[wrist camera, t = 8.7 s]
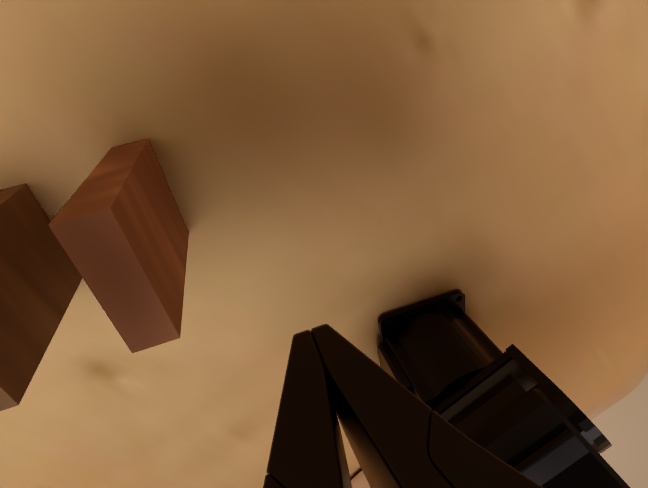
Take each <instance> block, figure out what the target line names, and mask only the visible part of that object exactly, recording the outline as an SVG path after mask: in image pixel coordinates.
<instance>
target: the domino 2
mask: <svg viewBox="0 0 648 488" xmlns="http://www.w3.org/2000/svg"><path fill="white" fill-rule="evenodd" d="M48 226H49V227H50V229H51V230H52V232H53V233H54V235H55V236H56V238H57V239H58V241H59V242H60V244H61V245H62V247H63V248H64V250H65V251H66V253H67V255H68V256H69V258H70V259H71V261H72V262H73V264H74V265H75V267H76V268H77V270H78V271H79V273H80V274H81V276H82V277H83V279H84V280H85V282H86V283H87V285H88V287H89V288H90V290H91V291H92V293H93V294H94V296H95V297H96V299H97V300H98V302H99V303H100V305H101V306H102V308H103V309H104V311H105V312H106V314H107V316H108V317H109V319H110V320H111V322H112V323H113V325H114V326H115V328H116V329H117V331H118V332H119V334H120V335H121V337H122V338H123V340H124V341H125V343H126V345H127V346H128V348H129V349H130V351H131V352H132V353H134V352H138V351H141V350H144V349H147V348H150V347H153V346H156V345H159V344H162V343H166V342H169V341H172V340H175V339H178V338H180V332H181V320H182V308H183V296H184V284H185V272H186V260H187V248H188V236H189V232H188V230H187V228H186V225H185V223H184V221H183V218H182V216H181V214H180V211H179V209H178V207H177V204H176V202H175V200H174V197H173V195H172V193H171V190H170V188H169V186H168V183H167V181H166V179H165V177H164V174H163V172H162V170H161V167H160V165H159V163H158V160H157V158H156V156H155V153H154V151H153V149H152V146H151V144H150V142H149V139H144V140H140V141H136V142H132V143H128V144H124V145H120V146H116V147H112V148H111V149H110V150H109V151H108V153H107V154H106V155H105V156H104V158H103V159H102V160H101V161H100V162H99V164H98V165H97V166H96V167H95V169H94V170H93V171H92V172H91V173H90V175H89V176H88V177H87V178H86V179H85V181H84V182H83V183H82V184H81V186H80V187H79V188H78V189H77V190H76V192H75V193H74V194H73V195H72V197H71V198H70V199H69V200H68V201H67V203H66V204H65V205H64V206H63V208H62V209H61V210H60V211H59V212H58V214H57V215H56V216H55V217H54V219H53V220H52V221H51V222H50V223H49V225H48Z"/></svg>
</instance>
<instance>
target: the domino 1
mask: <svg viewBox="0 0 648 488" xmlns="http://www.w3.org/2000/svg"><path fill="white" fill-rule="evenodd" d="M50 222H51V221H50V220H49V218H48V217H47V215H46V214H45V212H44V211H43V209H42V207H41V206H40V204H39V203H38V201H37V200H36V198H35V197H34V195H33V194H32V192H31V191H30V189H29V187H28V186H27V184H22V185H18V186H14V187H10V188H6V189H3V190H0V411H2V410H5V409H8V408H11V407H14V406H17V405H19V403H20V401H21V399H22V397H23V395H24V393H25V391H26V389H27V387H28V385H29V383H30V381H31V379H32V377H33V375H34V373H35V371H36V369H37V367H38V365H39V363H40V361H41V359H42V357H43V355H44V353H45V351H46V349H47V347H48V345H49V343H50V341H51V339H52V337H53V336H54V334H55V332H56V330H57V328H58V326H59V324H60V322H61V320H62V318H63V316H64V314H65V312H66V310H67V308H68V306H69V304H70V302H71V300H72V298H73V296H74V294H75V292H76V290H77V288H78V286H79V284H80V282H81V280H82V278H83V277H82V276H81V274H80V273H79V271H78V270H77V268H76V267H75V265H74V264H73V262H72V261H71V259H70V258H69V256H68V255H67V253H66V251H65V250H64V248H63V247H62V245H61V244H60V242H59V241H58V239H57V238H56V236H55V235H54V233H53V232H52V230H51V229H50V227H49V226H48V225H49V223H50Z"/></svg>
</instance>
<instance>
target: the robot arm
mask: <svg viewBox="0 0 648 488" xmlns="http://www.w3.org/2000/svg"><path fill="white" fill-rule="evenodd" d="M386 321H387V322H386ZM378 324H379V331H380V338H381V342H380V343H379V344H378V352H379V359H380V366H381V367H380V366H378V365H377V364H376V363H375V362H374V361H372V360H371V359H370V358H369V357H367V356H366V355H365V354H364V353H362V352H361V351H360V350H359V349H358V348H356V347H355V346H354V345H353V344H351V343H350V342H349V341H348V340H346V339H345V338H344V337H343V336H342V335H340V334H339V333H338V332H337V331H335V330H334V329H333V328H332V327H330V326H329V325H328V324H323V325H320V326H317V327H314V328H312V329H311V331H310V330H306V331H303V332H300V333H297V334H295V335H294V336H293V339H292V344H291V349H290V355H289V360H288V365H287V370H286V375H285V380H284V385H283V390H282V395H281V400H280V405H279V411H278V416H277V421H276V426H275V431H274V436H273V441H272V446H271V451H270V456H269V461H268V466H267V474H268V475H266V476H265V481H264V486H263V488H352V485H351V480H350V475H349V470H348V465H347V460H346V455H345V450H344V445H343V440H342V435H341V430H340V426H339V421H340V423H341V426H342V428H343V430H344V432H345V434H346V437H347V439H348V441H349V443H350V445H351V447H352V449H353V451H354V454H355V456H356V458H357V460H358V462H359V464H360V466H361V468H362V471H363V473H364V475H365V477H366V479H367V481H368V483H369V486H370V488H630V487H629V486H628V485H627V484H626V483H625V482H624V480H623V479H622V478H621V477H620V476H619V475H618V474H617V473H616V472H615V471H614V470H613V468H612V467H610V465H609V464H608V463H607V462H606V461H605V460H604V459H603V458H602V456H600V453H602V452H603V451H605V450H606V449H608V448H609V447H611V446H612V445H611V443H610V442H609V441H608V440H607V439H606V437H605V436H604V435H603V434H602V433H601V432H600V430H599V429H598V428H597V427H596V426H595V425H594V424H593V423H592V422H591V421H590V420H589V419H588V417H587V416H586V415H585V414H584V413H583V412H582V411H581V410H580V409H579V408H578V407H577V406H576V405H575V404H574V403H573V402H572V401H571V400H570V399H569V398H568V397H567V396H566V395H565V394H564V393H563V392H562V391H561V390H560V389H559V388H558V387H557V386H556V385H555V384H554V383H553V382H552V381H551V380H550V379H549V378H548V377H547V376H546V375H545V374H544V373H542V372H541V371H540V370H539V369H538V368H537V367H536V366H535V365H534V364H533V363H532V362H531V361H530V360H529V359H528V358H527V357H526V356H525V355H524V354H523V353H522V352H521V351H520V350H518V349H517V348H516V347H515V346H514V345H513V344H512V345H510V346H509V347H508V348H507V349H505V350H506V351H505V352H504V353H502V352H501V350H500V349H499V348H498V347H497V346H496V345H495V344H494V343H493V342H492V341H491V340H490V339H489V338H488V336H487V335H486V334H485V333H484V332H483V331H482V330H481V329H480V328H479V327H478V326H477V325H476V324H475V322H474V321H473V320H472V319H471V318H470V317H469V316H468V315H467V314H466V313H465V294H464V293H463V292H462V291H460V290H455V291H452V292H449V293H446V294H443V295H440V296H437V297H434V298H431V299H429V300H426V301H423V302H420V303H417V304H414V305H411V306H408V307H405V308H402V309H399V310H396V311H393V312H390V313H387V314H384V315H382V316H381V317H380V318H379V320H378ZM336 413H337V414H336ZM337 416H338V417H337ZM338 419H339V421H338Z"/></svg>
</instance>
